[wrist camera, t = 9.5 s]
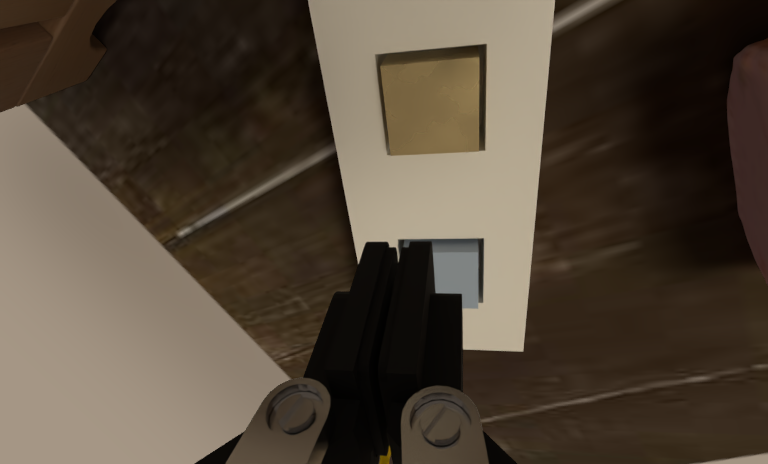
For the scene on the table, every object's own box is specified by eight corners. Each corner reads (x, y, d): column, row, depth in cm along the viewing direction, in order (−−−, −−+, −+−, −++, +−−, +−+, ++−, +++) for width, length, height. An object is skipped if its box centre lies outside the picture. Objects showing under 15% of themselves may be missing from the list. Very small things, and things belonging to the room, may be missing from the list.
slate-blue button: (406, 229, 31) (402, 252, 29) (477, 228, 30) (478, 252, 28) (412, 282, 34) (408, 307, 31) (477, 282, 33) (478, 308, 30)
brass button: (387, 54, 24) (380, 66, 22) (477, 45, 23) (479, 57, 21) (396, 137, 27) (390, 155, 25) (477, 132, 26) (478, 151, 24)
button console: (327, -54, 25) (297, -52, 20) (543, -86, 23) (563, -92, 18) (383, 300, 40) (373, 346, 36) (515, 302, 38) (523, 351, 34)
